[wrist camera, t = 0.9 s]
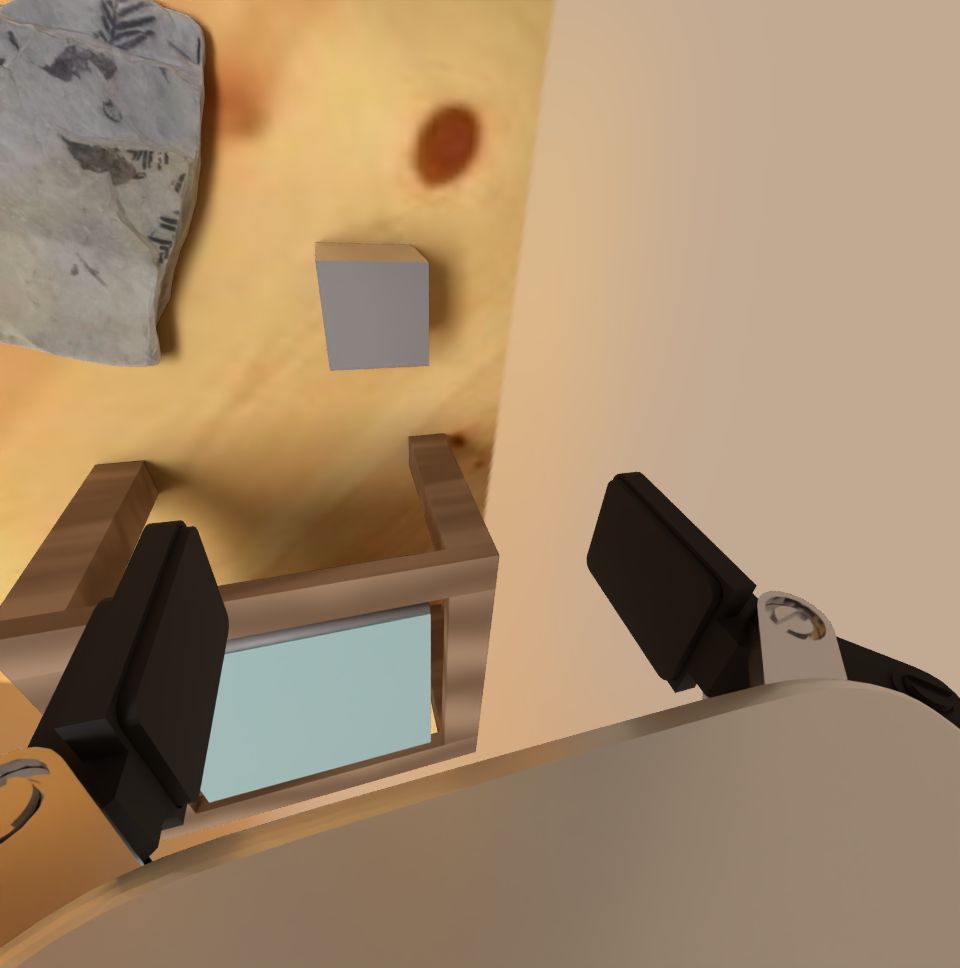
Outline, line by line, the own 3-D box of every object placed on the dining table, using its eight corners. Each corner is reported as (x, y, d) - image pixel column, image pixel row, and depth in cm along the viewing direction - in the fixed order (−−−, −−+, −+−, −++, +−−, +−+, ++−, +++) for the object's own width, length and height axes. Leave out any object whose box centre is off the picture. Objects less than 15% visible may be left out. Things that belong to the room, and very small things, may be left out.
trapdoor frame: (95, 464, 27) (-26, 643, 17) (443, 433, 32) (499, 555, 23) (200, 669, 39) (164, 841, 29) (440, 621, 45) (475, 751, 35)
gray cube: (315, 242, 24) (315, 260, 20) (410, 244, 25) (428, 262, 21) (327, 338, 27) (330, 370, 23) (413, 335, 28) (429, 366, 24)
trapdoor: (123, 650, 21) (115, 669, 20) (426, 594, 24) (430, 608, 24) (211, 785, 29) (209, 802, 28) (428, 728, 33) (430, 742, 32)
